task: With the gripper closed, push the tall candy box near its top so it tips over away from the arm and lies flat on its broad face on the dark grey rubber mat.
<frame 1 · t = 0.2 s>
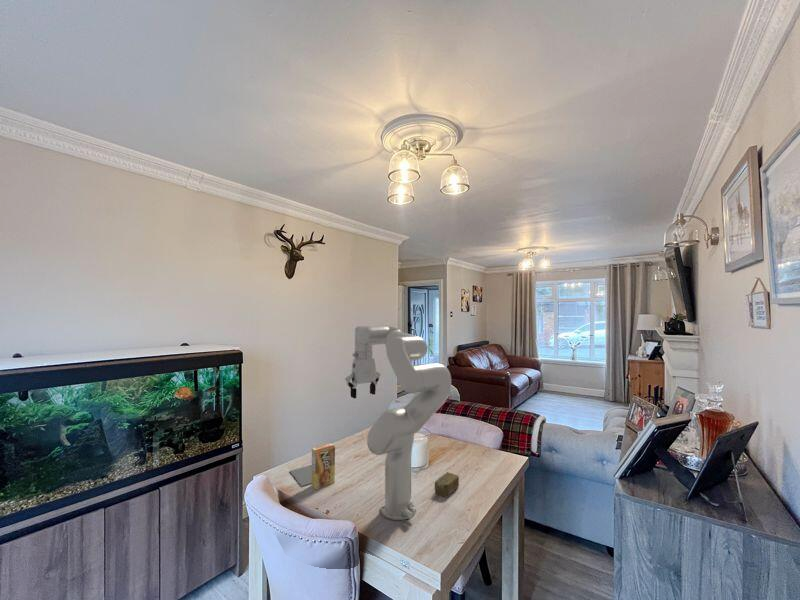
hand: (363, 395, 141), 36 cm above the table, tool pointing down, fingers open, 9 cm apart
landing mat: (311, 474, 147), on the table
candy box: (323, 484, 139), on the table
stone block: (447, 490, 134), on the table
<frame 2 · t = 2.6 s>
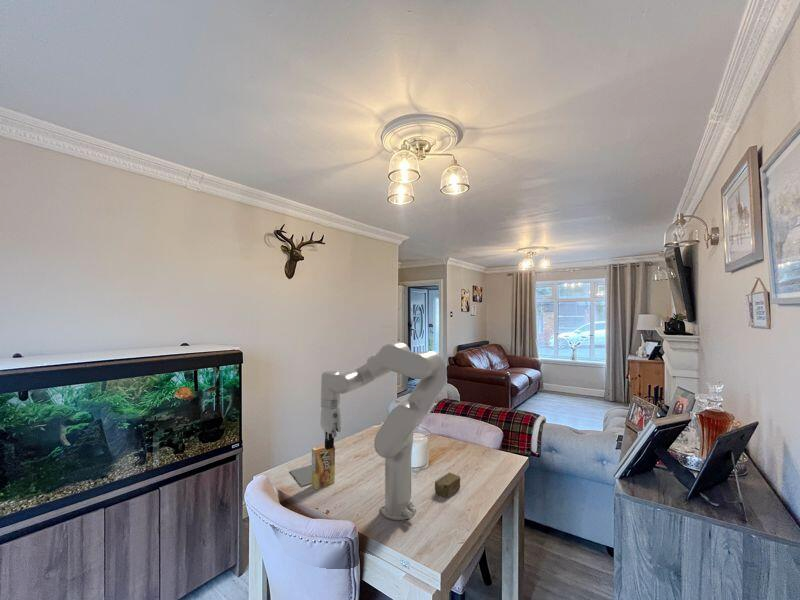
hand: (329, 448, 134), 17 cm above the table, tool pointing down, fingers closed
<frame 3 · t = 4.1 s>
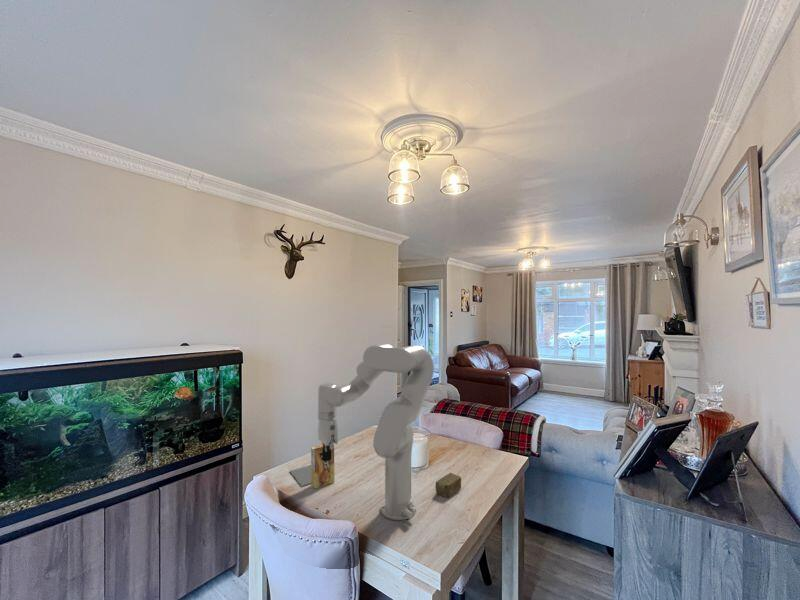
hand: (326, 459, 136), 11 cm above the table, tool pointing down, fingers closed
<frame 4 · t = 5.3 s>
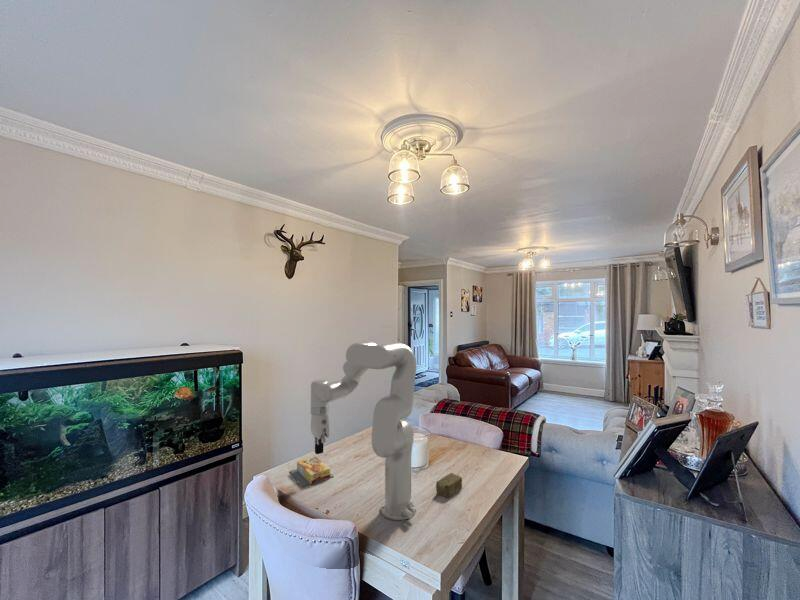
hand: (319, 452, 143), 11 cm above the table, tool pointing down, fingers closed
candy box: (321, 476, 140), point 3 cm above the table, touching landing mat
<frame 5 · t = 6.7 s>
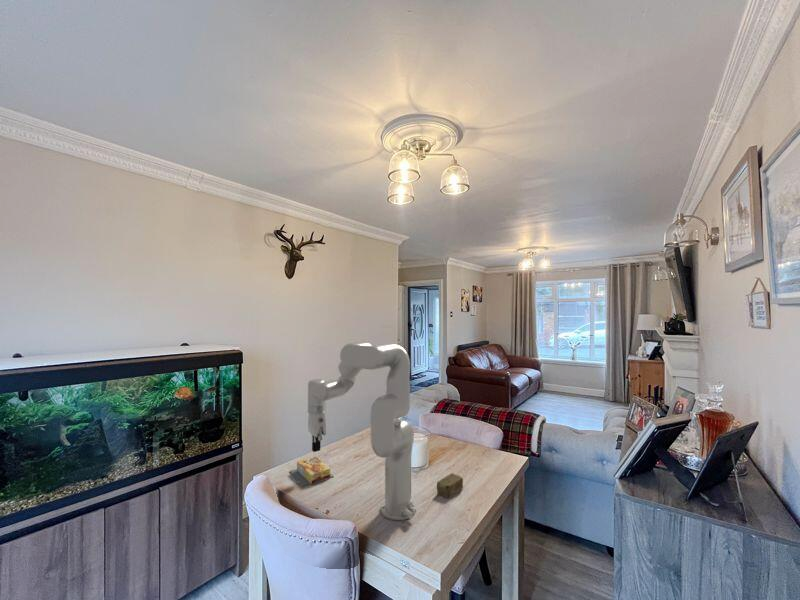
hand: (316, 450, 146), 11 cm above the table, tool pointing down, fingers closed
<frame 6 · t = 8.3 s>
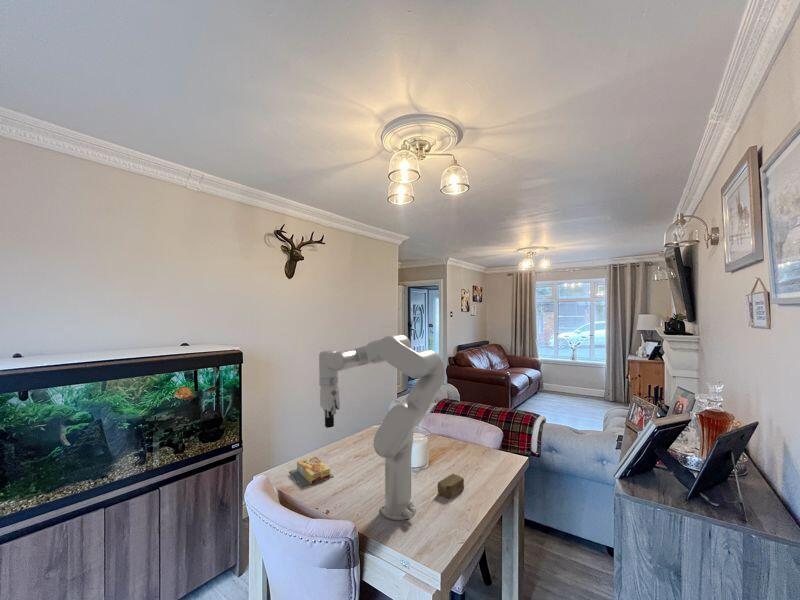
hand: (329, 426, 136), 25 cm above the table, tool pointing down, fingers closed
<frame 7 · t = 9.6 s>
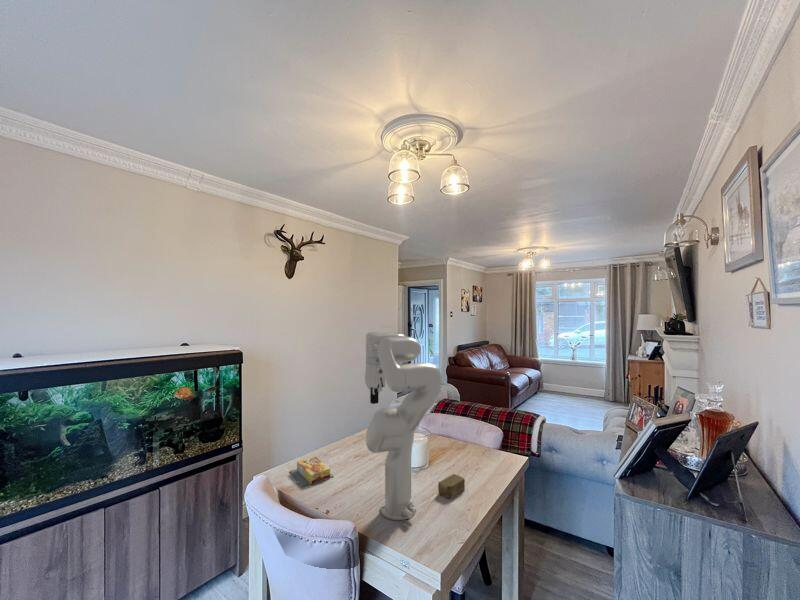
hand: (374, 403, 145), 32 cm above the table, tool pointing down, fingers closed
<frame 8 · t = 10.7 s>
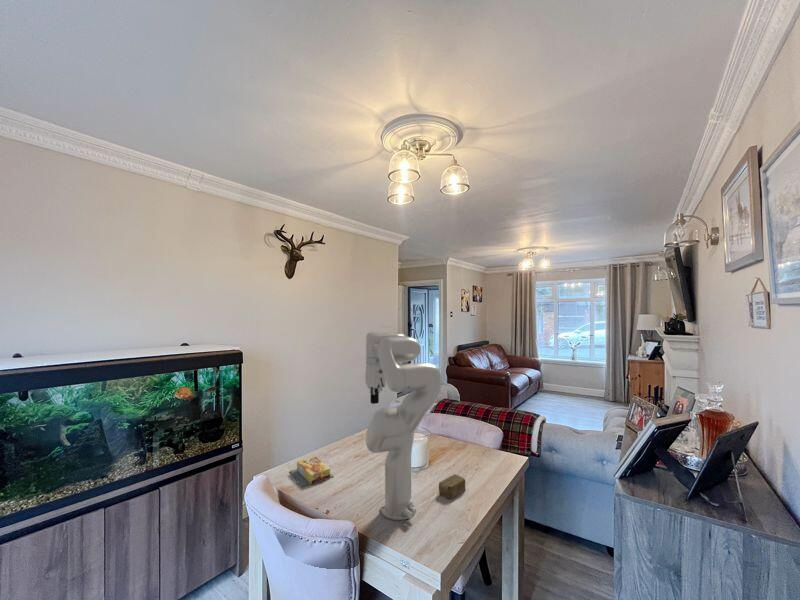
hand: (374, 403, 145), 32 cm above the table, tool pointing down, fingers closed
at the end: candy box tilted 90°; candy box touching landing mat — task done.
